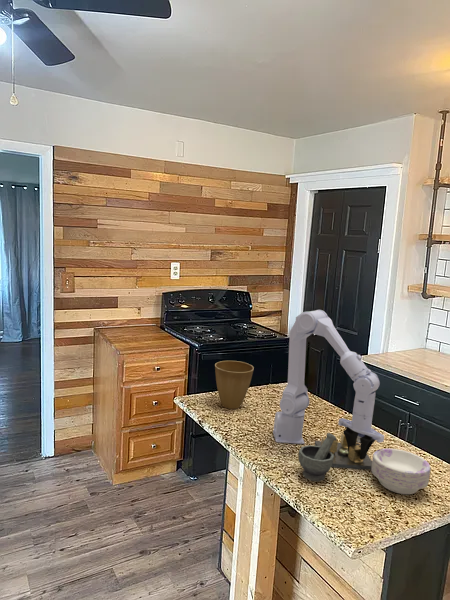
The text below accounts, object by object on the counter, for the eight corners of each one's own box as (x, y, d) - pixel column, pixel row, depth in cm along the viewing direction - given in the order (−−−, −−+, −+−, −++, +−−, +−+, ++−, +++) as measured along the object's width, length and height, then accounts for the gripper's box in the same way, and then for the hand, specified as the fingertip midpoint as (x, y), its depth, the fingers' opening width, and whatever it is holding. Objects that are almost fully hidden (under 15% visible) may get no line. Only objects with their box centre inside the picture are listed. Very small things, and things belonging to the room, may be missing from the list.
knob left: (322, 454, 144) (324, 441, 143) (319, 448, 148) (321, 435, 147) (337, 455, 144) (338, 442, 144) (333, 449, 148) (335, 436, 148)
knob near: (354, 464, 139) (356, 450, 139) (346, 457, 143) (347, 444, 142) (366, 462, 141) (368, 449, 141) (357, 456, 145) (359, 443, 144)
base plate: (325, 466, 139) (326, 459, 138) (314, 444, 154) (315, 437, 153) (375, 470, 139) (376, 463, 139) (359, 447, 154) (360, 440, 154)
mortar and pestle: (311, 487, 126) (316, 445, 125) (289, 471, 134) (294, 431, 132) (341, 479, 132) (347, 439, 130) (319, 464, 140) (323, 426, 138)
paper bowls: (376, 466, 142) (380, 442, 141) (430, 484, 134) (434, 458, 133) (363, 487, 129) (367, 460, 128) (422, 508, 121) (426, 479, 120)
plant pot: (214, 396, 189) (218, 358, 187) (251, 401, 187) (255, 363, 185) (208, 410, 175) (212, 368, 172) (247, 415, 173) (252, 373, 171)
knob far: (342, 449, 149) (344, 436, 148) (339, 443, 152) (341, 431, 152) (356, 450, 149) (358, 437, 148) (352, 444, 153) (354, 432, 152)
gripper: (391, 419, 137) (385, 462, 139) (349, 402, 148) (344, 443, 150) (379, 423, 133) (372, 468, 134) (336, 406, 143) (331, 448, 145)
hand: (356, 455), depth 142 cm, fingers closed on knob near, 3 cm apart
